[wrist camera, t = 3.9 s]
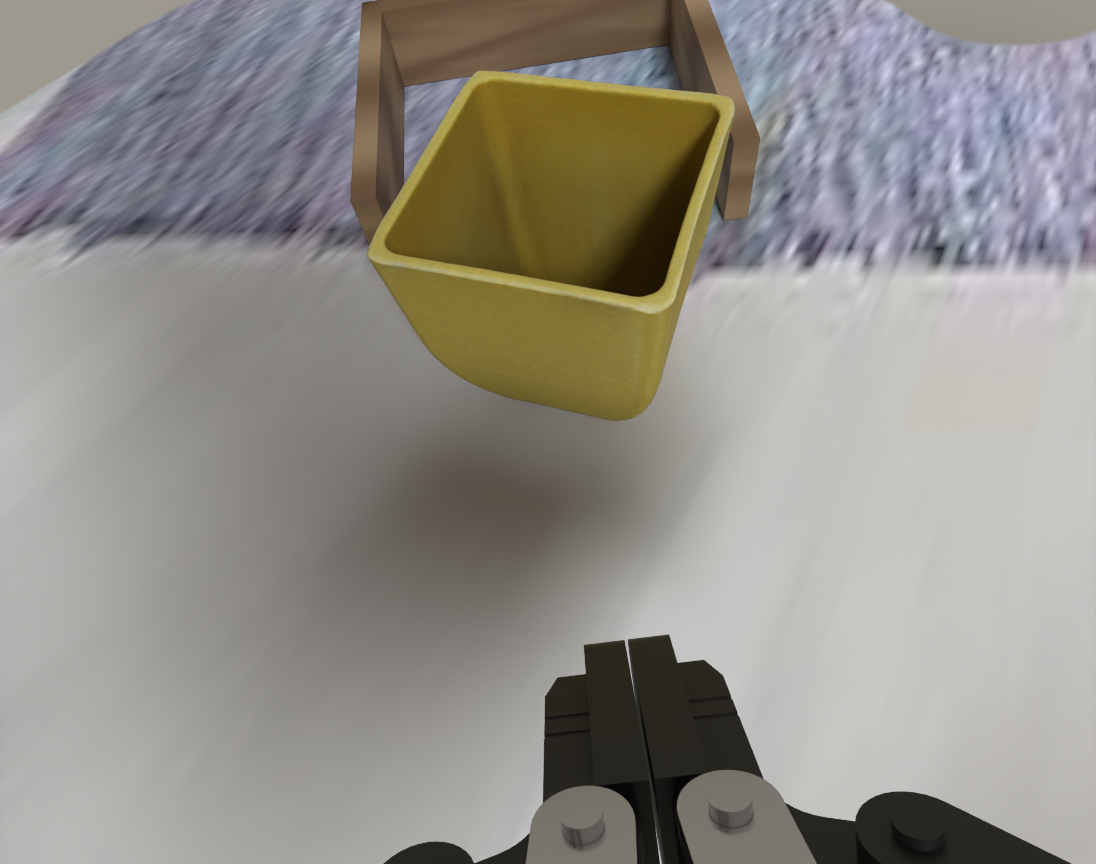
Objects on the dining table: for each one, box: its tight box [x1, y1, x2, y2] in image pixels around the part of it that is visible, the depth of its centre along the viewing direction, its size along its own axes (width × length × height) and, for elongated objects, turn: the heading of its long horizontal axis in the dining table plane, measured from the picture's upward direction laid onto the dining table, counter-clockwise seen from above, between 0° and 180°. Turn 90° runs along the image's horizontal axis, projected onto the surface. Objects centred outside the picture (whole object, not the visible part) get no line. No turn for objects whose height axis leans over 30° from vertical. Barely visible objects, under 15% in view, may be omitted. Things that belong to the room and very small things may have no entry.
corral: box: [350, 0, 760, 245], centre depth 34 cm, size 14×16×4 cm
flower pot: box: [367, 71, 735, 421], centre depth 25 cm, size 9×9×9 cm
